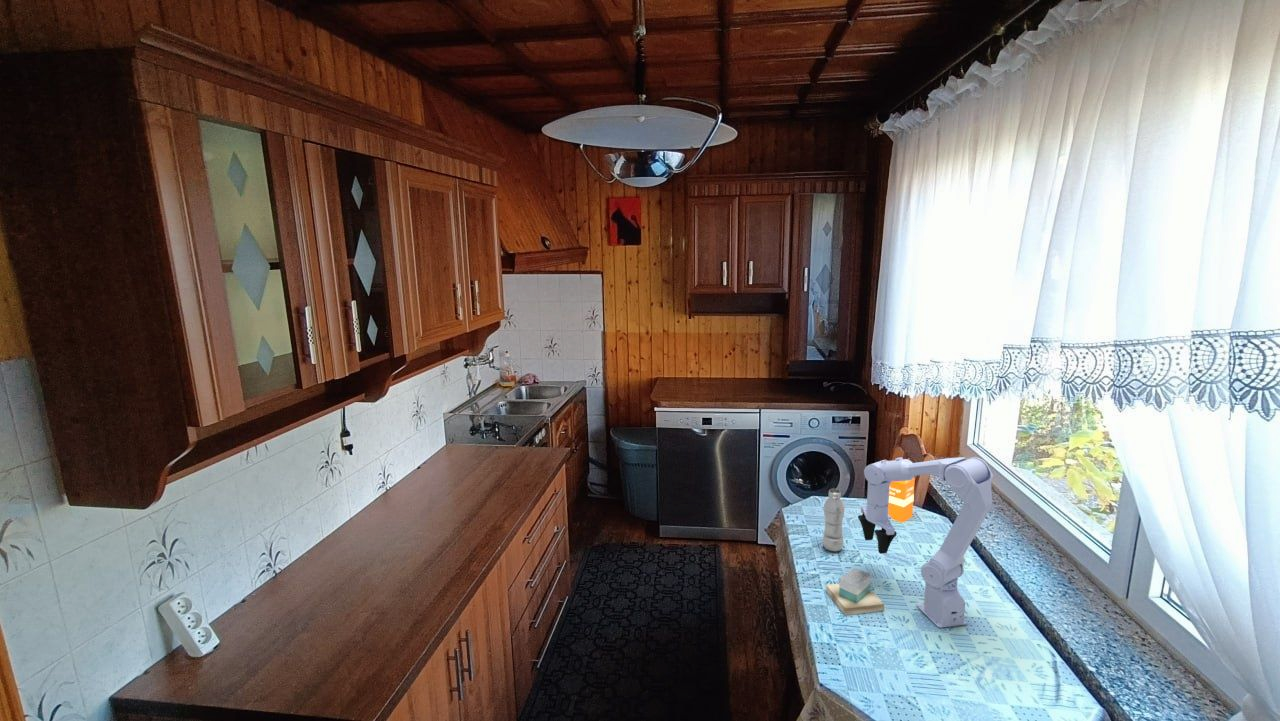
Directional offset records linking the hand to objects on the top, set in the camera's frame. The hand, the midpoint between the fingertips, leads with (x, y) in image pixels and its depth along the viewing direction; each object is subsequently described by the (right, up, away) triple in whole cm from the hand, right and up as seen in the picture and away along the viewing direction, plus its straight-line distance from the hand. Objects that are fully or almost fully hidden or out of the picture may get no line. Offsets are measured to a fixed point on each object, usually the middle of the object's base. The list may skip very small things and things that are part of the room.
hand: (875, 546), depth 162 cm
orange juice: (+25, -3, +41) cm, 47 cm away
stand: (-9, -12, -8) cm, 18 cm away
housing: (-9, -10, -8) cm, 16 cm away
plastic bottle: (-6, -7, +19) cm, 21 cm away
